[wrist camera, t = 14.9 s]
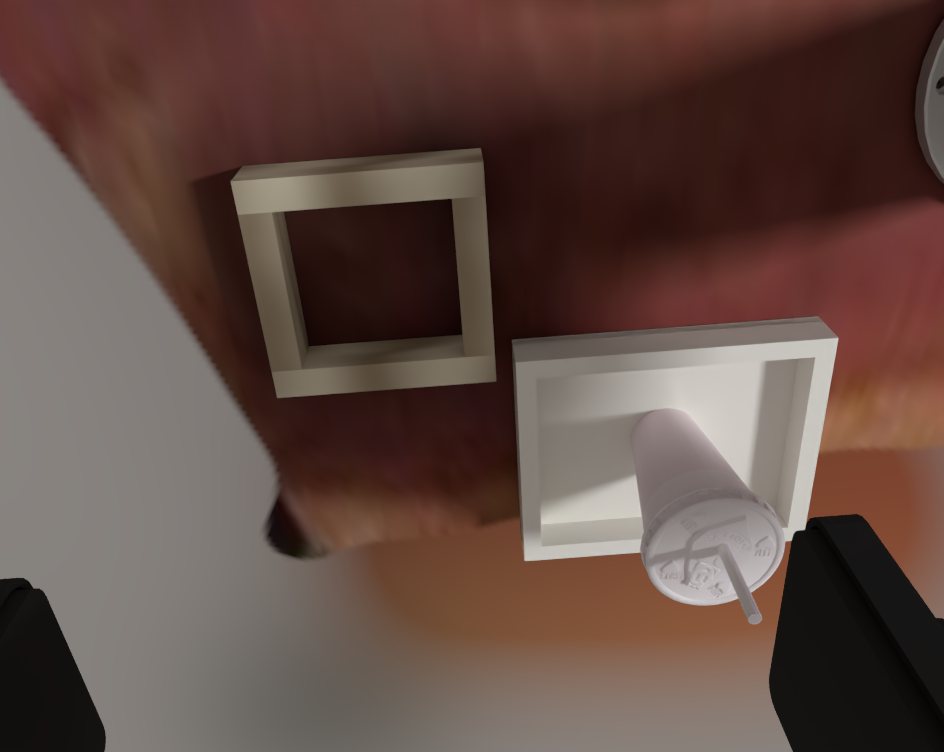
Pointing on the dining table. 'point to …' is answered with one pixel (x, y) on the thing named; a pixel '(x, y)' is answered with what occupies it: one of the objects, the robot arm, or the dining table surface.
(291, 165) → the frame
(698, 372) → the tray
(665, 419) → the smoothie
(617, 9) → the dining table surface
